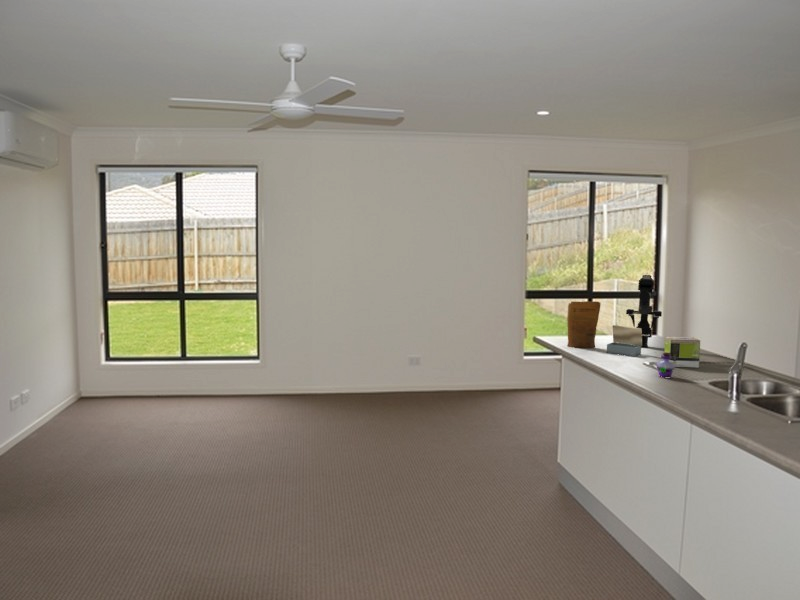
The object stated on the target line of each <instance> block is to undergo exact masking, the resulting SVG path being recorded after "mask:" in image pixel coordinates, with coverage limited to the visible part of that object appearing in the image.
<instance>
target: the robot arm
mask: <svg viewBox="0 0 800 600" xmlns="http://www.w3.org/2000/svg"><path fill="white" fill-rule="evenodd" d="M637 287H638V288H637V291H639V295H638V296H639V297H638V298H639V299H638V309H637V310H635V309H634V308H633V309H631V308H627V309H626V310H625V311H626V312H625V314H626V315H628V317H630V318H631V322H632V326H633V328H641V329H642V346H641V348H645V349H647V348H649V345H648V344H649V341H648V340H649V339H650V338H652V335H653V327H654V325H655V323H656V320H657V319H659V317H662V316H663V314H662V313H663V312H662V311H661V310H654V311H653V305H651V296H652V293H653V291H654V289H655V280H654V279H653V278H652V275H650V274H643V275H642V277H640V279H639V280H638V286H637ZM635 315H640V320H639V321H638V323H637V326H636V323H635V321H636V320H635V319H636V318H635ZM649 316H653V317H652V320H651V321H652V322H651V324H650V322H649V321H648V317H649ZM635 326H636V327H635ZM638 346H639V345H638Z"/></svg>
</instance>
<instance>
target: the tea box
mask: <svg viewBox="0 0 800 600" xmlns="http://www.w3.org/2000/svg"><path fill="white" fill-rule="evenodd" d="M700 350H701V340H700V339H698V338H695V337H694V336H693V337H691V336H690V337H689V336H688V337H687V336H665V337H664V351H663V353H664V352H667V353H670V355H671V359H669V362H672V363H675V368H696V369H697V368H700V357H701V356H700V355H701V351H700Z"/></svg>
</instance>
